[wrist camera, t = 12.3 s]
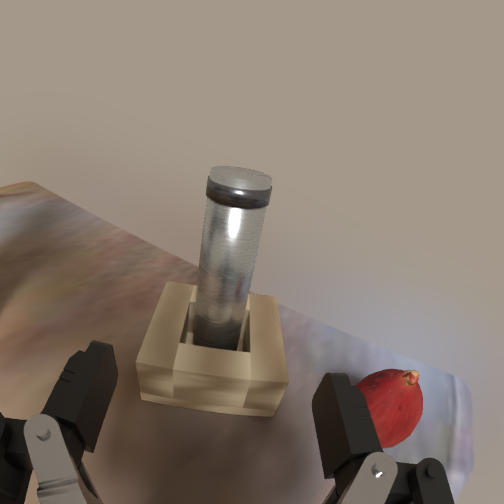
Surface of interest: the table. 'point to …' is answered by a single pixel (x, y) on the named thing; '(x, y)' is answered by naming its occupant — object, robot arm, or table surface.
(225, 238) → the cylinder
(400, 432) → the onion
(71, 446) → the robot arm
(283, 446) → the table surface
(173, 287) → the square ring gauge
